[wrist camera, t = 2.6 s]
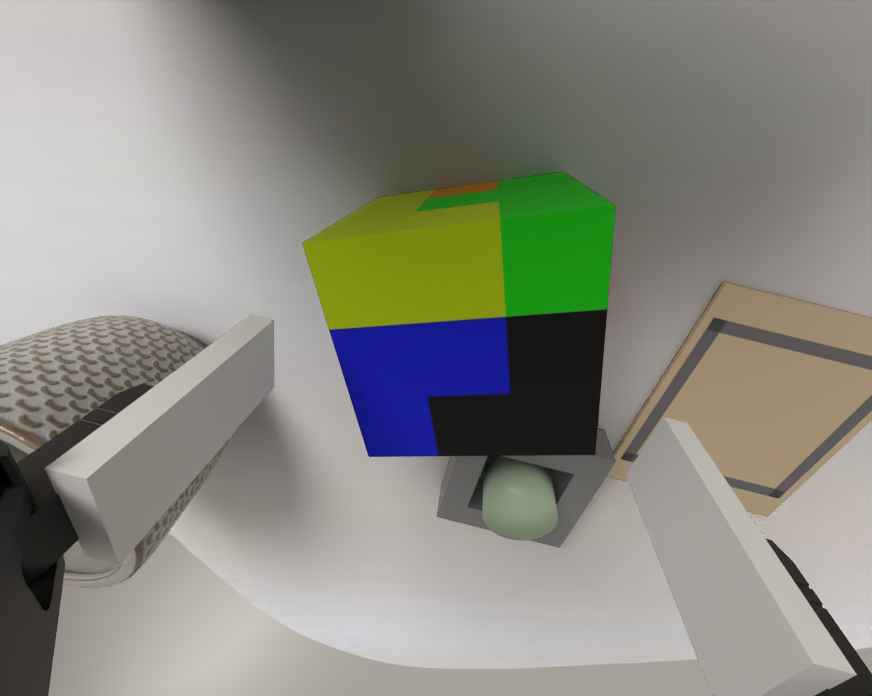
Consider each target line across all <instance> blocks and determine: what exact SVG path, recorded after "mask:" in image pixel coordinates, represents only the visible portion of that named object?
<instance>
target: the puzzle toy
mask: <svg viewBox="0 0 872 696" xmlns="http://www.w3.org/2000/svg"><path fill="white" fill-rule="evenodd" d="M615 206H616V205H614V204H613V203H611V202H609V201H608V200H606V199H605V198H603V197H602V196H600V195H599V194H597V193H595V192H594V191H592V190H591V189H589V188H588V187H586V186H585V185H583V184H581V183H580V182H578V181H577V180H575V179H574V178H572V177H570V176H569V175H567V174H566V173H564V172H557V173H550V174H542V175H535V176H528V177H521V178H513V179H506V180H499V181H492V182H485V183H477V184H470V185H463V186H456V187H449V188H441V189H434V190H427V191H420V192H413V193H405V194H398V195H391V196H384V197H378V198H376V199H375V200H373V201H371V202H370V203H368V204H366V205H365V206H363V207H361V208H360V209H358V210H356V211H355V212H353V213H351V214H350V215H348V216H346V217H345V218H343V219H341V220H340V221H338V222H336V223H335V224H333V225H331V226H330V227H328V228H326V229H325V230H323V231H321V232H320V233H318V234H316V235H315V236H313V237H311V238H310V239H308V240H306V241H305V242H303V243H302V244H303V247H304V250H305V254H306V257H307V260H308V263H309V266H310V270H311V273H312V276H313V279H314V283H315V286H316V289H317V292H318V295H319V299H320V302H321V305H322V308H323V311H324V315H325V318H326V321H327V324H328V327H329V331H330V334H331V337H332V340H333V343H334V347H335V350H336V353H337V356H338V359H339V363H340V366H341V369H342V372H343V376H344V379H345V382H346V385H347V388H348V392H349V395H350V398H351V401H352V404H353V408H354V411H355V414H356V417H357V420H358V424H359V427H360V430H361V433H362V436H363V440H364V443H365V446H366V449H367V452H368V456H369V457H392V456H543V455H595V453H596V441H597V429H598V416H599V404H600V391H601V379H602V367H603V354H604V342H605V330H606V317H607V305H608V293H609V280H610V268H611V256H612V243H613V231H614V219H615Z"/></svg>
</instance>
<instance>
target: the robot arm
mask: <svg viewBox="0 0 872 696" xmlns="http://www.w3.org/2000/svg"><path fill="white" fill-rule="evenodd" d="M273 387H274V322H273V320H271V319H267V318H263V317H259V316H255V315H249V316H248V317H247V318H245V319H244V320H243V321H241V322H240V323H239V324H237V325H236V326H235V327H233V328H232V329H231V330H229V331H228V332H227V333H225V334H224V335H223V336H221V337H220V338H219V339H217V340H216V341H215V342H213V343H212V344H211V345H209V346H208V347H207V348H205V349H204V350H203V351H201V352H200V353H199V354H197V355H196V356H194V357H193V358H192V359H190V360H189V361H188V362H186V363H185V364H184V365H182V366H181V367H180V368H178V369H177V370H176V371H174V372H173V373H172V374H170V375H169V376H168V377H166V378H165V379H164V380H162V381H161V382H160V383H158V384H157V385H156V386H151V385H147V384H143V383H142V384H139V385H137V386H134V387H132V388H129V389H127V390H124V391H122V392H119V393H117V394H116V395H114V396H113V397H111V398H110V399H109V400H107V401H106V402H104V403H103V404H101V405H100V406H98V409H97V410H95V409H94V410H93V411H91V412H90V413H88V414H87V415H85V416H84V417H83V418H82V419H81V421H80V422H79V421H77V422H75V423H74V424H72V425H71V426H70V427H68V428H67V429H65V430H64V431H62V432H61V433H59V434H58V435H56V436H55V437H54V438H52V439H51V440H49V441H48V442H46V443H45V444H43V445H42V446H41V447H39V448H38V449H36V450H35V451H33V452H32V453H30V454H29V455H28V456H26V457H25V458H23V459H22V460H20V461H19V462H17V463H16V461H15V460H14V458H13V456H12V454H11V452H10V450H9V448H8V446H7V445H6V444H4V443H3V442H1V441H0V696H48V692H49V685H50V677H51V669H52V662H53V654H54V647H55V639H56V631H57V624H58V617H59V609H60V601H61V594H62V586H63V579H64V571H65V560H64V555H63V554H64V553H65V552H66V551H67V550H68V549H69V548H70V547H72V546H73V545H74V544H75V543H76V542H77V541H78V542H79V544H80V546H81V548H82V550H83V553H84V555H85V556H86V557H90V558H94V559H98V560H102V561H106V562H110V563H114V564H118V565H120V564H121V563H122V562H123V561H124V560H125V558H126V557H127V556H128V555H129V554H130V553H131V552H132V550H133V549H134V548H135V547H136V546H137V545H138V543H139V542H140V541H141V540H142V539H143V538H144V536H145V535H146V534H147V533H148V532H149V531H150V530H151V528H152V527H153V526H154V525H155V524H156V523H157V521H158V520H159V519H160V518H161V517H162V516H163V515H164V513H165V512H166V511H167V510H168V509H169V508H170V506H171V505H172V504H173V503H174V502H175V501H176V499H177V498H178V497H179V496H180V495H181V494H182V493H183V491H184V490H185V489H186V488H187V487H188V486H189V484H190V483H191V482H192V481H193V480H194V479H195V478H196V476H197V475H198V474H199V473H200V472H201V471H202V469H203V468H204V467H205V466H206V465H207V464H208V462H209V461H210V460H211V459H212V458H213V457H214V456H215V454H216V453H217V452H218V451H219V450H220V449H221V447H222V446H223V445H224V444H225V443H226V442H227V441H228V439H229V438H230V437H231V436H232V435H233V434H234V432H235V431H236V430H237V429H238V428H239V427H240V426H241V424H242V423H243V422H244V421H245V420H246V419H247V417H248V416H249V415H250V414H251V413H252V412H253V410H254V409H255V408H256V407H257V406H258V405H259V404H260V402H261V401H262V400H263V399H264V398H265V397H266V395H267V394H268V393H269V392H270V391H271V390H272V389H273ZM626 476H627V479H628V482H629V484H630V487H631V489H632V492H633V494H634V497H635V499H636V502H637V505H638V507H639V510H640V512H641V515H642V517H643V520H644V522H645V525H646V528H647V530H648V533H649V535H650V538H651V540H652V543H653V546H654V548H655V551H656V553H657V556H658V558H659V561H660V563H661V566H662V569H663V571H664V574H665V576H666V579H667V581H668V584H669V587H670V589H671V592H672V594H673V597H674V599H675V602H676V604H677V607H678V610H679V612H680V615H681V617H682V620H683V622H684V625H685V628H686V630H687V633H688V635H689V638H690V640H691V643H692V645H693V648H694V651H695V653H696V656H697V658H698V661H699V663H700V666H701V669H702V671H703V674H704V676H705V679H706V681H707V684H708V686H709V689H710V692H711V694H712V696H872V674H871V672H870V671H869V670H868V668H867V667H866V665H865V664H864V662H863V661H862V660H861V658H860V657H859V655H858V654H857V652H856V651H855V649H854V648H853V647H852V645H851V644H850V642H849V641H848V640H847V638H846V637H845V635H844V634H843V632H842V631H841V630H840V628H839V627H838V625H837V624H836V622H835V621H834V620H833V618H832V617H831V615H830V614H829V612H828V611H827V610H826V609H824V608H823V607H822V602H821V601H820V600H819V598H818V597H817V595H816V594H815V592H814V591H813V590H812V589H809V584H808V582H807V581H806V580H805V578H804V577H803V575H802V574H801V573H800V571H799V570H798V568H797V567H796V565H795V564H794V563H793V561H792V560H791V559H790V558H789V557H788V556H787V555H786V554H785V553H784V552H783V551H782V550H781V549H780V548H779V547H778V546H777V545H776V544H775V543H774V542H773V541H772V540H768V539H765V537H764V536H763V535H762V533H761V532H760V530H759V529H758V527H757V526H756V524H755V523H754V521H753V520H752V518H751V517H750V515H749V514H748V512H747V511H746V509H745V508H744V506H743V505H742V503H741V502H740V500H739V499H738V497H737V496H736V494H735V493H734V491H733V490H732V488H731V487H730V485H729V484H728V483H727V481H726V480H725V478H724V477H723V475H722V474H721V472H720V471H719V469H718V468H717V466H716V465H715V463H714V462H713V460H712V459H711V457H710V456H709V454H708V453H707V451H706V450H705V448H704V447H703V445H702V444H701V442H700V441H699V439H698V438H697V436H696V435H695V433H694V432H693V431H692V429H691V428H690V426H689V425H688V423H685V422H681V421H677V420H673V419H669V418H665V417H664V419H663V420H662V422H661V423H660V425H659V426H658V428H657V429H656V431H655V432H654V433H653V435H652V436H651V438H650V439H649V441H648V442H647V444H646V445H645V447H644V448H643V450H642V451H641V453H640V454H639V456H638V457H637V459H636V460H635V462H634V463H633V464H632V466H631V467H630V469H629V470H628V472H627V473H626Z"/></svg>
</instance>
